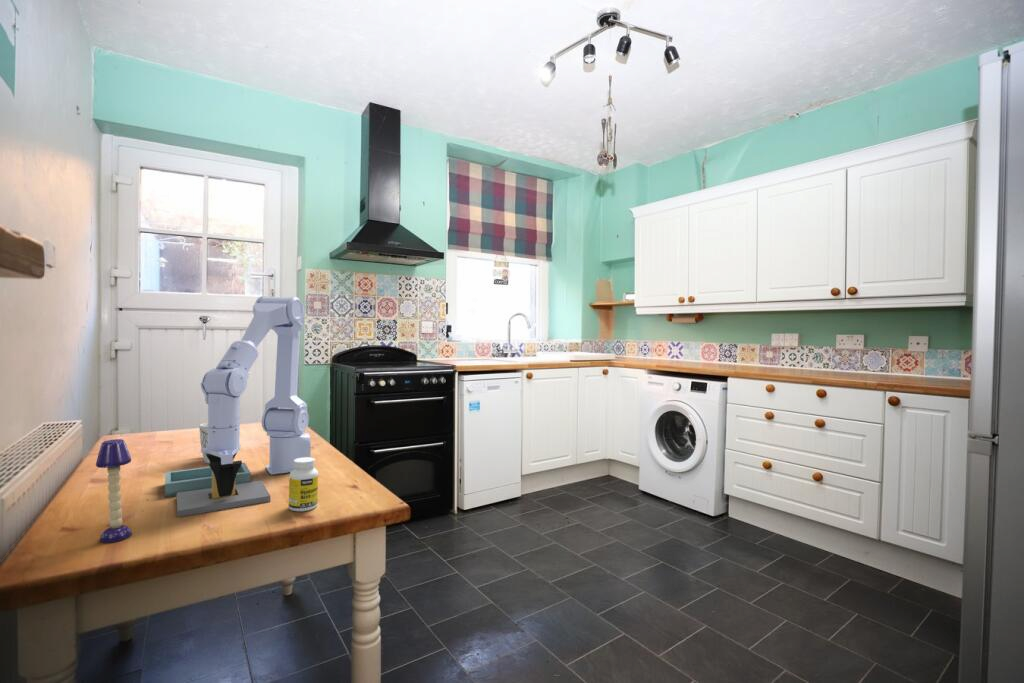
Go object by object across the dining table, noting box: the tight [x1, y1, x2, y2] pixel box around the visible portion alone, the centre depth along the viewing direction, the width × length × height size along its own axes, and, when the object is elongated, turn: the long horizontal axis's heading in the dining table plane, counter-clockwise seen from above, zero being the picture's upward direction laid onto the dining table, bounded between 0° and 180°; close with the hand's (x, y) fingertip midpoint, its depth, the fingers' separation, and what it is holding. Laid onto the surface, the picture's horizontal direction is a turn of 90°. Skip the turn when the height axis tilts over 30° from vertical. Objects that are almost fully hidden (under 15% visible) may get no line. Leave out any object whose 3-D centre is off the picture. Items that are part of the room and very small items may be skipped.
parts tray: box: [164, 462, 251, 498], centre depth 111 cm, size 16×10×3 cm, turn 125°
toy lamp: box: [95, 438, 133, 544], centre depth 83 cm, size 5×5×17 cm
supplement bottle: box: [288, 457, 319, 512], centre depth 99 cm, size 5×5×10 cm
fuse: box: [212, 471, 235, 499], centre depth 102 cm, size 4×3×7 cm
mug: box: [199, 421, 210, 464], centre depth 132 cm, size 11×8×10 cm
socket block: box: [176, 480, 271, 518], centre depth 102 cm, size 16×12×1 cm
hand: (223, 490), depth 102 cm, fingers open, 7 cm apart
